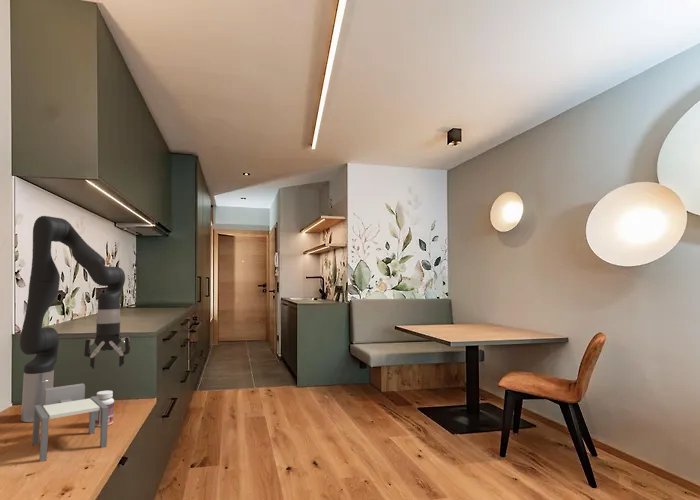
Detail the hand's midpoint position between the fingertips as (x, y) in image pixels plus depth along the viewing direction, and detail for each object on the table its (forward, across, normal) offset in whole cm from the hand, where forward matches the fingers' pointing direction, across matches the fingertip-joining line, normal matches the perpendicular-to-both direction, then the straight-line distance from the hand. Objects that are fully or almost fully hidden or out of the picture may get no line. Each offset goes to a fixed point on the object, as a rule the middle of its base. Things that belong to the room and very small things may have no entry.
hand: (107, 367), depth 156 cm
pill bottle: (+21, +1, -2) cm, 21 cm away
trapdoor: (+9, +8, +14) cm, 19 cm away
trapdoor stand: (+20, +7, +17) cm, 28 cm away
